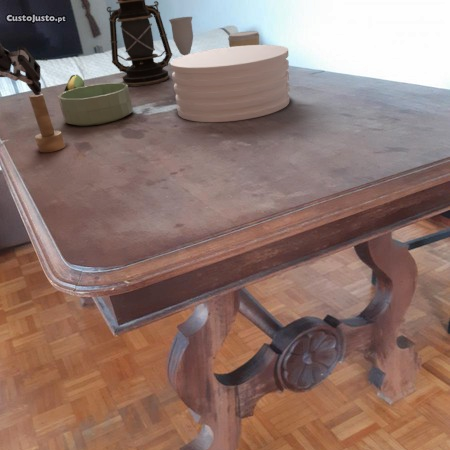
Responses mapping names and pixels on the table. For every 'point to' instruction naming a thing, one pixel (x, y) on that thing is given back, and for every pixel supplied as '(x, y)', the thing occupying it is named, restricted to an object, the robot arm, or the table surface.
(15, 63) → the robot arm
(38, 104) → the pestle
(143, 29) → the lantern
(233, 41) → the coffee cup
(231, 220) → the table surface
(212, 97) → the plate stack
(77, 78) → the edible corn
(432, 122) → the table surface
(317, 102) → the table surface
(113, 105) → the bowl
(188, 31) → the chalice
